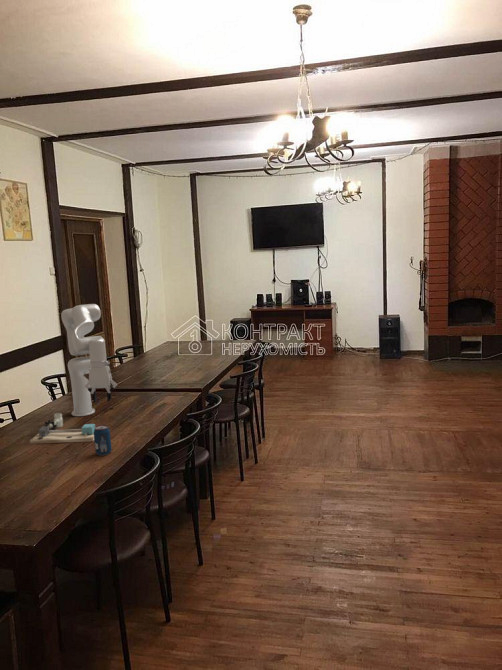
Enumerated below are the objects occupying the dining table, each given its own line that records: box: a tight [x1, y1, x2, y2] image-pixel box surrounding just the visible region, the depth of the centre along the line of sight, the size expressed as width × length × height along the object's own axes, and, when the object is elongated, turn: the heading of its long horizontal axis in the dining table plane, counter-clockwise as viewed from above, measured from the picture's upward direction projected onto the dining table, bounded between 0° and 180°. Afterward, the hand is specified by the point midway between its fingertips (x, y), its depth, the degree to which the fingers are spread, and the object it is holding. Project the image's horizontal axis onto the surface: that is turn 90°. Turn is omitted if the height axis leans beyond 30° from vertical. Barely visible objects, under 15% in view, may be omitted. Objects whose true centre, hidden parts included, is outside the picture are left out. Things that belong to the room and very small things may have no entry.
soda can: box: [93, 424, 112, 456], centre depth 237 cm, size 7×7×12 cm
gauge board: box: [29, 425, 94, 445], centre depth 260 cm, size 12×30×5 cm, turn 89°
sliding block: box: [81, 423, 96, 436], centre depth 259 cm, size 8×5×4 cm, turn 179°
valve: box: [42, 412, 64, 430], centre depth 275 cm, size 7×7×12 cm
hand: (102, 400), depth 258 cm, fingers open, 6 cm apart
